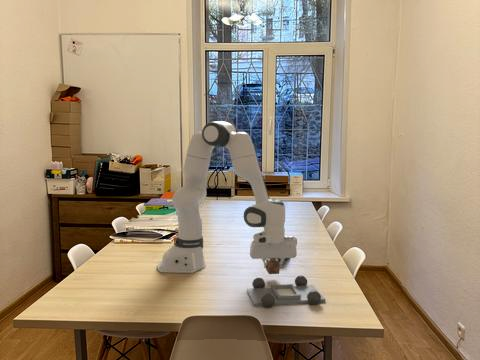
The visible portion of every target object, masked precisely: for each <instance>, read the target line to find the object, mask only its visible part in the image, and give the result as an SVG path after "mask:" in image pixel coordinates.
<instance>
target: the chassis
mask: <svg viewBox="0 0 480 360" xmlns="http://www.w3.org/2000/svg"><path fill="white" fill-rule="evenodd" d="M251 284H252V288H247V289H246V292H247V295H248V296H249V299H250V301H251V303H252V305H253V307H254V308H255V307H264V308H272V307H273V306H283V305H286V306H287V305H298V304H301V305H302V304H311V305H313V306H314V305H317V304H319V303H326V298H325V297H324V296H323V294H322V293H321V292H320V291H319V290H318V288H316V287H315V285H314V284H309V285H308V279H307V278H306V276H304V275H298V276H297V277H295V278H294V284H295V285H294V284H292V283H290V284H274V285H270V287H265V286H266V282H265V280H264V278H262V277H256V278H254V279H253V281H252V283H251Z"/></svg>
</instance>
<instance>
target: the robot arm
mask: <svg viewBox="0 0 480 360" xmlns="http://www.w3.org/2000/svg"><path fill="white" fill-rule="evenodd" d="M201 130H202V131H195V132H194V133H193V134H192V136H191V139H190V141H189V143H188V147H187V150H186V156H185V159H184V164H183V165H184V166H183V173H184V177H183V178H184V181H183V186H181V187H179V188H178V189H177V190H176V191H175V192H174V194H173V195H172V197H171V198H172V199H171V201H172V205H173V207H174V208H175V212H176V216H177V222H178V223H177V226H178V227H177V228H178V229H177V231H178V236H175V235H174V236H173V239H172V240H173V246H171V247H170V248H168V249H167V250H166V251H165V252H164V253H163V255H162V259H161V261H158V263H157V266H156V267H157V269H156V270H157V271H159V272H160V273H167V274H168V273H173V274H174V273H175V274H177V273H178V274H181V273H182V274H193V273H195V272H198V271H200V270H203V269H204V268H205V267H206V262H205V257H204V250H203V249H204V236H203V220H202V217H201V214H200V209H199V208H200V207H199V206H200V205H201V204H203V202H204V201H205V200H206V197H207V183H208V179H207V178H208V172H209V168H210V164H211V163H210V162H211V157H212V154H213V150H214V148H215V147H216V148H217V147H219V148H224V147H225V148H226V149H228V152H229V156H230V159H231V164H232V169H233V170H234V173H235V175H237V176H238V177H240V178H241V179H244V180H246V181H247V182H248V183H249V184H250V186H251V190H252V192H253V196H254V199H255V200H254V201H255V204H252V205H250V206H248V207H247V208H246V209H245V210H244V212H243V220H244V222H245V224H246V225H247V226H248V227H250V228H263V231H261V232H260V231H259V232H257V233H254V234H253V237H252V238H253V240H252V241H251V243H250V249H249V255H250V258H251V259H252V260H256V259H257V260H259V259H260V260H261V261H262V263H263V268H264V269H266V268H268V263H266V259H269V258H279V262H280V269H282V265H283V264H284V262H285V259H296V258H297V253H298V252H297V245H298V238H297V237H295V236H285V234H286V233H285V231H286V230H285V229H286V228H285V223H286V206H285V203H284V202H283V201H282V200H281V199H278V198H270V195H269V192H268V188H267V185H266V181H265V179H264V176H263V173H262V171H261V168H260V165H259V161H258V158H257V152H256V150H255V145H254V144H253V141H252V138H251V136H250V134H248V133H247V132H245V131H238V128H237V127H236V125H235V124H234V123H232V122H230V121H224V120H219V121H217V120H216V121H215V120H214V121H210V122H208V123H206V124H205V125H204V127H203V128H202V129H201ZM284 258H285V259H284Z"/></svg>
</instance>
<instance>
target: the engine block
mask: <svg viewBox="0 0 480 360" xmlns="http://www.w3.org/2000/svg"><path fill="white" fill-rule="evenodd" d="M265 263H268V268H265V270H266V272H267V273H268V275H280V269H281V268H280V260H277V258H269V259H266V261H265Z"/></svg>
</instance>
